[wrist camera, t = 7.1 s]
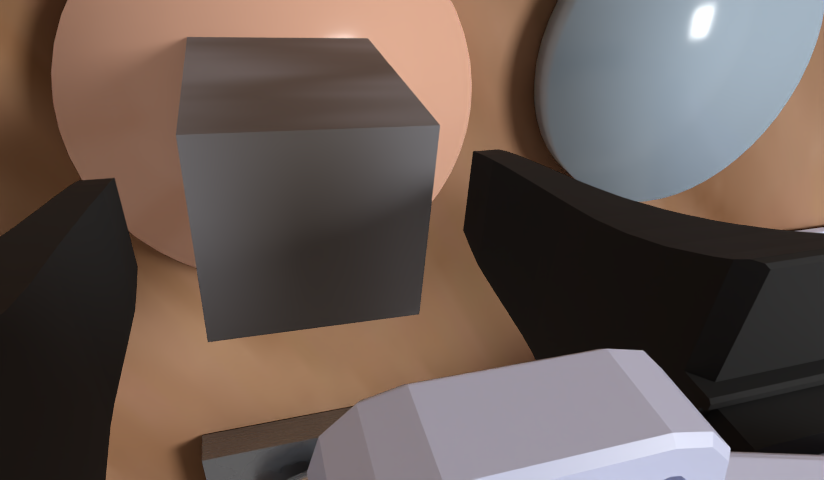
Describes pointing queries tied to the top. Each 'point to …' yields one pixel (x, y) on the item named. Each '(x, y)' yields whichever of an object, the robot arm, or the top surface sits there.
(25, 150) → the top surface
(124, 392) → the top surface
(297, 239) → the block
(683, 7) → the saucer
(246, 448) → the balance
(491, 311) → the top surface
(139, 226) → the dish
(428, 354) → the top surface
